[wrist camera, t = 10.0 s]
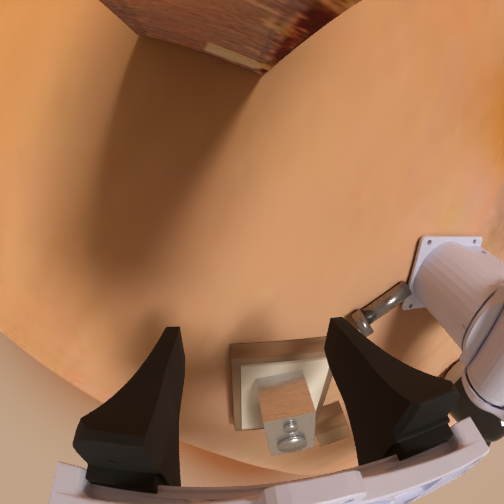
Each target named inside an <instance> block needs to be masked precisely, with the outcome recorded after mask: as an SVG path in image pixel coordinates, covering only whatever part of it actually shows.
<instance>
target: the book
mask: <svg viewBox="0 0 504 504" xmlns="http://www.w3.org/2000/svg"><path fill="white" fill-rule="evenodd" d="M100 1H101V2H102V3H103V4H104V5H105V6H106V7H108V8H109V9H110V10H111V11H112V12H113V13H114V14H115V15H117V16H118V17H119V18H120V19H121V20H122V21H123V22H124V23H125V24H126V25H128V26H129V27H130V28H131V29H132V30H133V31H134V32H135V33H136V34H137V35H142V36H146V37H150V38H154V39H158V40H162V41H166V42H169V43H173V44H177V45H180V46H183V47H187V48H190V49H193V50H196V51H199V52H202V53H205V54H208V55H211V56H214V57H217V58H220V59H223V60H225V61H228V62H231V63H233V64H236V65H238V66H241V67H244V68H246V69H249V70H251V71H253V72H256V73H258V74H260V75H264V74H265V73H266V72H268V71H269V70H270V69H271V68H272V67H273V66H275V65H276V64H277V63H278V62H279V61H280V60H282V59H283V58H284V57H285V56H286V55H288V54H289V53H290V52H291V51H292V50H294V49H295V48H296V47H297V46H299V45H300V44H301V43H302V42H304V41H305V40H306V39H308V38H309V37H310V36H311V35H313V34H314V33H315V32H317V31H318V30H319V29H321V28H322V27H323V26H325V25H326V24H327V23H329V22H330V21H332V20H333V19H334V18H336V17H337V16H339V15H340V14H341V13H343V12H344V11H346V10H347V9H349V8H350V7H352V6H353V5H355V4H356V3H358V2H359V1H361V0H100Z"/></svg>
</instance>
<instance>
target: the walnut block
mask: <svg viewBox="0 0 504 504" xmlns="http://www.w3.org/2000/svg"><path fill="white" fill-rule="evenodd" d="M315 434H316V437H317V440H318V442H319V445H320V447H321V446H324V445H327V444H330V443H333V442H336V441H338V440H341V439H344V438H347V437H349V430H348V424H347V422H346V419H345V416H344V414H343V411H342V408H341V406H340V403H339V401H336V402H333V403H331V404H328V405H325V406H322V409H321V412H320V415H319V417H318V420H317V422H315Z"/></svg>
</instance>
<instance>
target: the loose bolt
mask: <svg viewBox="0 0 504 504" xmlns="http://www.w3.org/2000/svg"><path fill="white" fill-rule="evenodd" d="M410 295H412V293H411V290H410V288H409V287H408V285H407V284H406V283H405V282H404V281H402V282H401V283H399V284H398V285H397V286H395V287H394V288H392V289H391V290H390V291H388V292H387V293H385V294H384V295H383V296H381V297H380V298H378V299H377V300H375V301H374V302H373V303H371V304H370V305H368V306H367V307H365V308H364V309H362V310H360V309H359V310H357V311H356V312H354V313H353V314H351V316H352V318H353V320H354V321H355V323H356V325H357V326H358V328H359V330H360V331H361V333H362V334H363V335H364V336H365V337H367V336H369V335H370V334H372V333H373V330H372V328H371V326H370V324H371V323H372V322H374V321H375V320H377V319H378V318H380V317H381V316H383V315H384V314H386V313H387V312H388V311H390V310H391V309H393V308H394V307H395V306H397V305H398V304H400V303H401V302H402V301H404V300H405V299H406V298H408V297H409V296H410Z"/></svg>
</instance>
